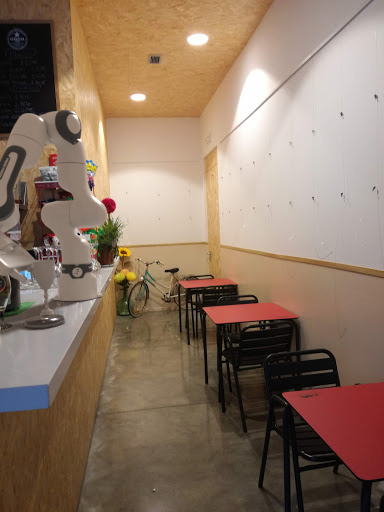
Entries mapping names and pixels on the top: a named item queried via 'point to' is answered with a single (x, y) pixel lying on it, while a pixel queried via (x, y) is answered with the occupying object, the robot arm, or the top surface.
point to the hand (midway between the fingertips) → (31, 279)
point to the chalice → (45, 280)
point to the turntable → (44, 321)
